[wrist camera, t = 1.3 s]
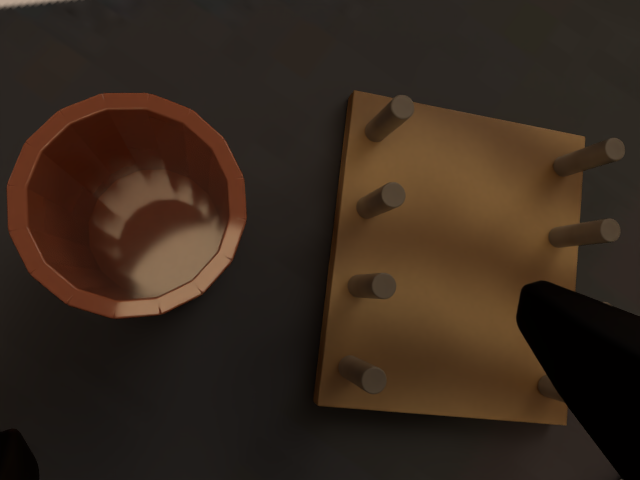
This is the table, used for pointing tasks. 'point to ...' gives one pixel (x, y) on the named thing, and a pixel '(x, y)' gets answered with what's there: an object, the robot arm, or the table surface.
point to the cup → (126, 205)
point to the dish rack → (448, 259)
